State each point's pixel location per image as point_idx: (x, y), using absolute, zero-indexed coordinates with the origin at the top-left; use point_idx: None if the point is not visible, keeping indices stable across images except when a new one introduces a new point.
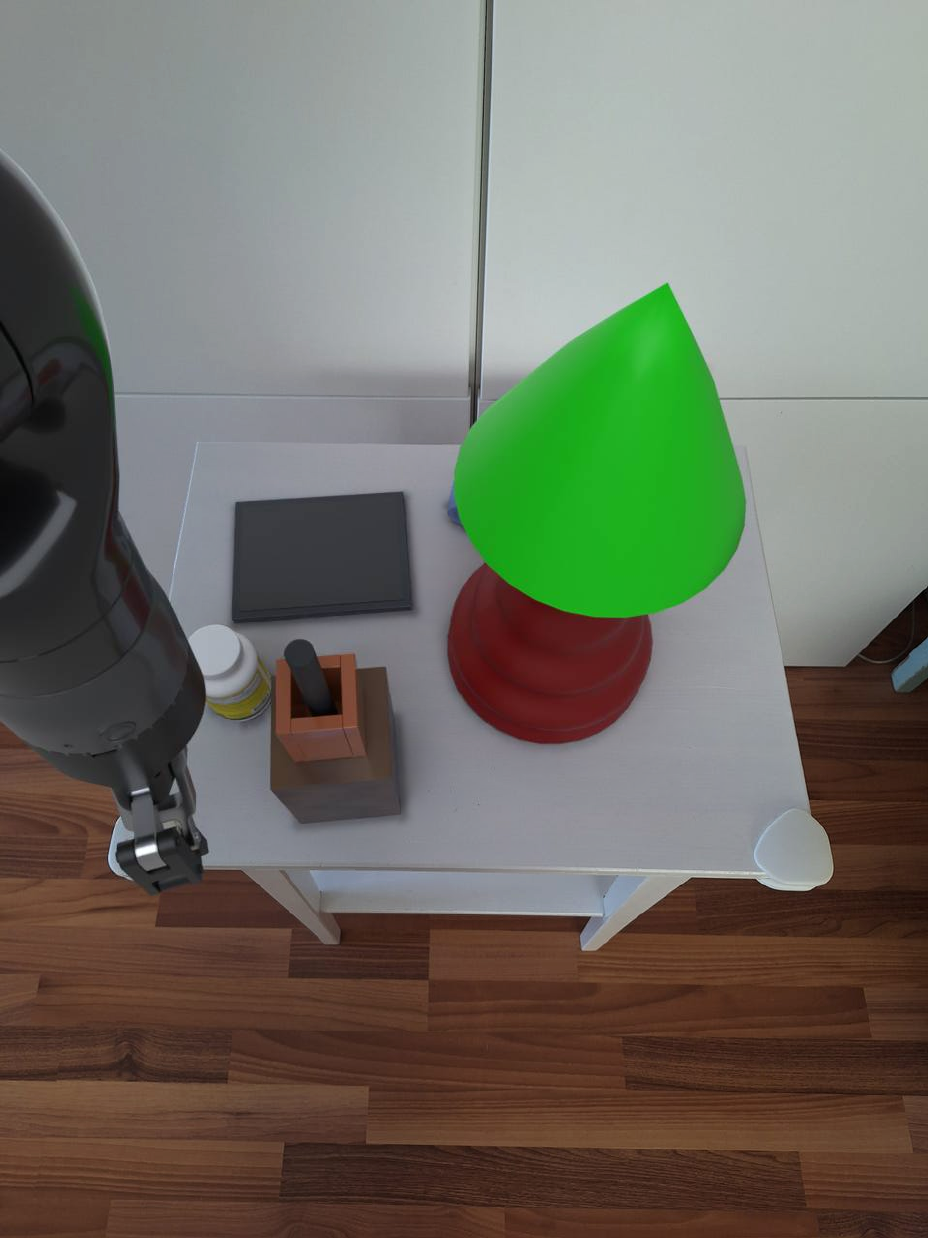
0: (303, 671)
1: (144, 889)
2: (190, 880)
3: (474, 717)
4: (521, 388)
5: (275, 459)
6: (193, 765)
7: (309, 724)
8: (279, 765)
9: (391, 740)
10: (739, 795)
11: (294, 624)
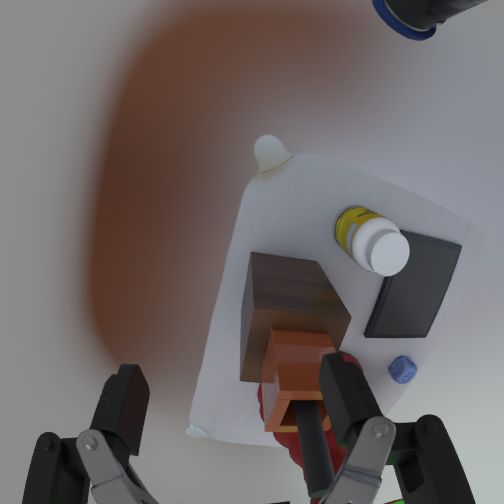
0: (307, 484)
1: (30, 465)
2: (62, 473)
3: None
4: None
5: (470, 269)
6: (312, 185)
7: (279, 409)
8: (272, 316)
9: None
10: (216, 428)
11: None
